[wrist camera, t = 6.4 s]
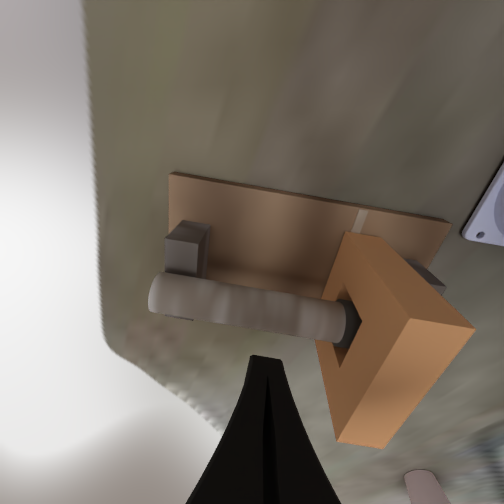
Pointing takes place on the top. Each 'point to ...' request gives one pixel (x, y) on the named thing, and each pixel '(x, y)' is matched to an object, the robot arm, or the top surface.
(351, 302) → the pipe rig
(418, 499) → the smoothie
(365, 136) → the top surface
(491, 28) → the top surface
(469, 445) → the top surface
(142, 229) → the top surface
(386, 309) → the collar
